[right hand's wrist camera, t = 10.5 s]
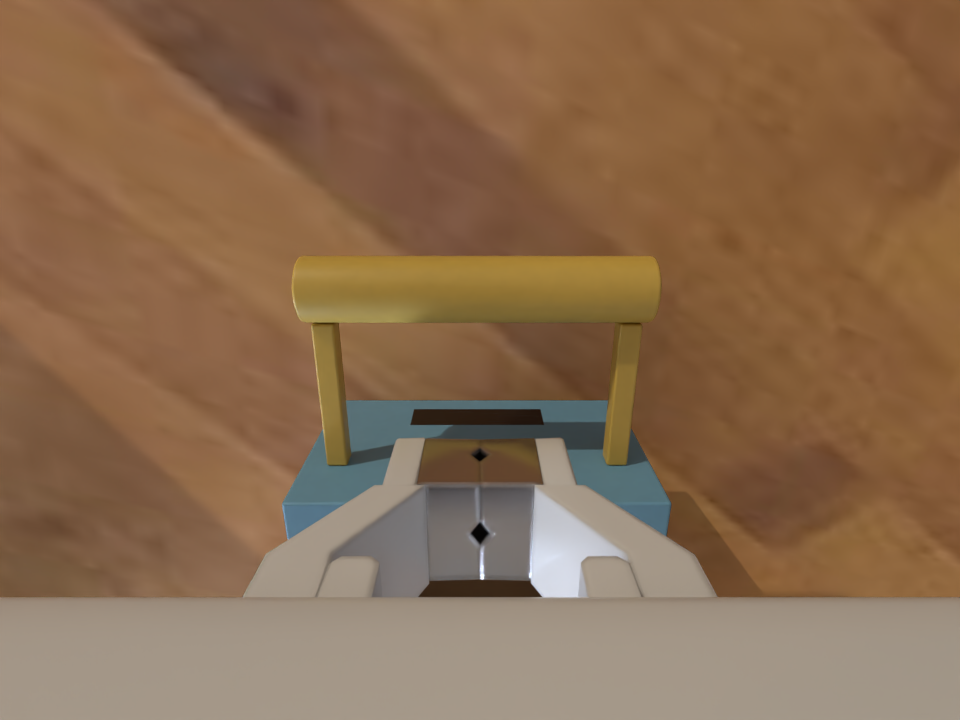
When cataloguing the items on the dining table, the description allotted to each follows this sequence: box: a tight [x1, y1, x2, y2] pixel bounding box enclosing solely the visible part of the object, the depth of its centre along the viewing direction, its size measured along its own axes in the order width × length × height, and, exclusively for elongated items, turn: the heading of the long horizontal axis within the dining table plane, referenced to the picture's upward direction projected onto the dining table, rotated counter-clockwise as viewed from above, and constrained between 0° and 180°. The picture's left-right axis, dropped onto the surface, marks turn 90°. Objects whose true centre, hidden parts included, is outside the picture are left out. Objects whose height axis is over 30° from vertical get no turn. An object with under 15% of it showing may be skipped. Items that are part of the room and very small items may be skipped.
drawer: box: [282, 256, 671, 597], centre depth 19 cm, size 25×10×6 cm, turn 0°
